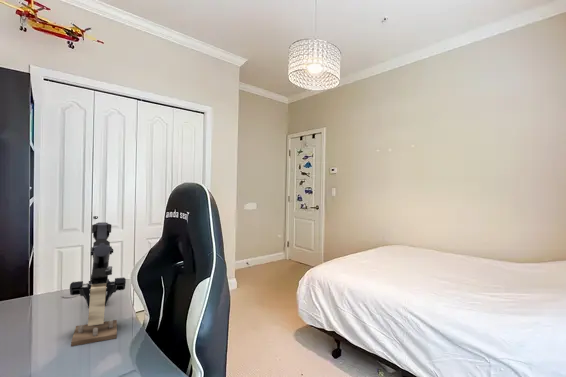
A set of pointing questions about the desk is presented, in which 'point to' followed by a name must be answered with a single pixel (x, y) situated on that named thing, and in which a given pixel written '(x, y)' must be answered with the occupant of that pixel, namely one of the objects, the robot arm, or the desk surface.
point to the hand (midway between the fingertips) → (97, 306)
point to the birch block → (97, 304)
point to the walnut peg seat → (94, 333)
